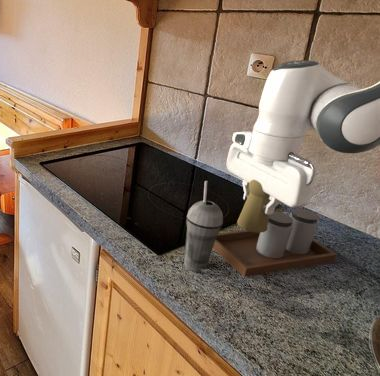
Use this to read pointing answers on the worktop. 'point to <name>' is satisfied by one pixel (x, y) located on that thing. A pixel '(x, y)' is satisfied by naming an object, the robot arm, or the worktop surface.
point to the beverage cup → (201, 232)
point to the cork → (254, 209)
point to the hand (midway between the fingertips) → (257, 206)
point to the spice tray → (259, 264)
